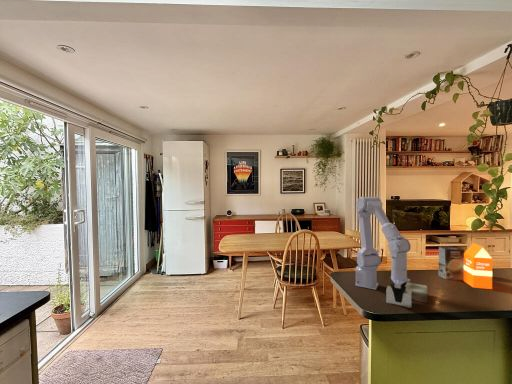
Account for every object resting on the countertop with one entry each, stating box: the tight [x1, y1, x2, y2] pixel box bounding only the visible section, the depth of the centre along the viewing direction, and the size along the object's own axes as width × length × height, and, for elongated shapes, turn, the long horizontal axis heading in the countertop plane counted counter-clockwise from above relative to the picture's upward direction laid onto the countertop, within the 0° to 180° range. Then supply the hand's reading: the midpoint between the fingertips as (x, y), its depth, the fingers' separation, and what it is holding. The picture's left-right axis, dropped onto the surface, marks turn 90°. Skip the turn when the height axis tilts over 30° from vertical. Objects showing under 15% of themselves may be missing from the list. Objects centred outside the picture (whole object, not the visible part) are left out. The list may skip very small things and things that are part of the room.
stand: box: [405, 282, 428, 304], centre depth 112 cm, size 12×10×4 cm
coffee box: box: [437, 246, 465, 281], centre depth 134 cm, size 9×6×16 cm
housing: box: [385, 285, 413, 309], centre depth 105 cm, size 9×5×6 cm, turn 56°
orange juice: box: [463, 242, 493, 290], centre depth 124 cm, size 8×9×20 cm
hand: (398, 299), depth 105 cm, fingers closed on housing, 5 cm apart
